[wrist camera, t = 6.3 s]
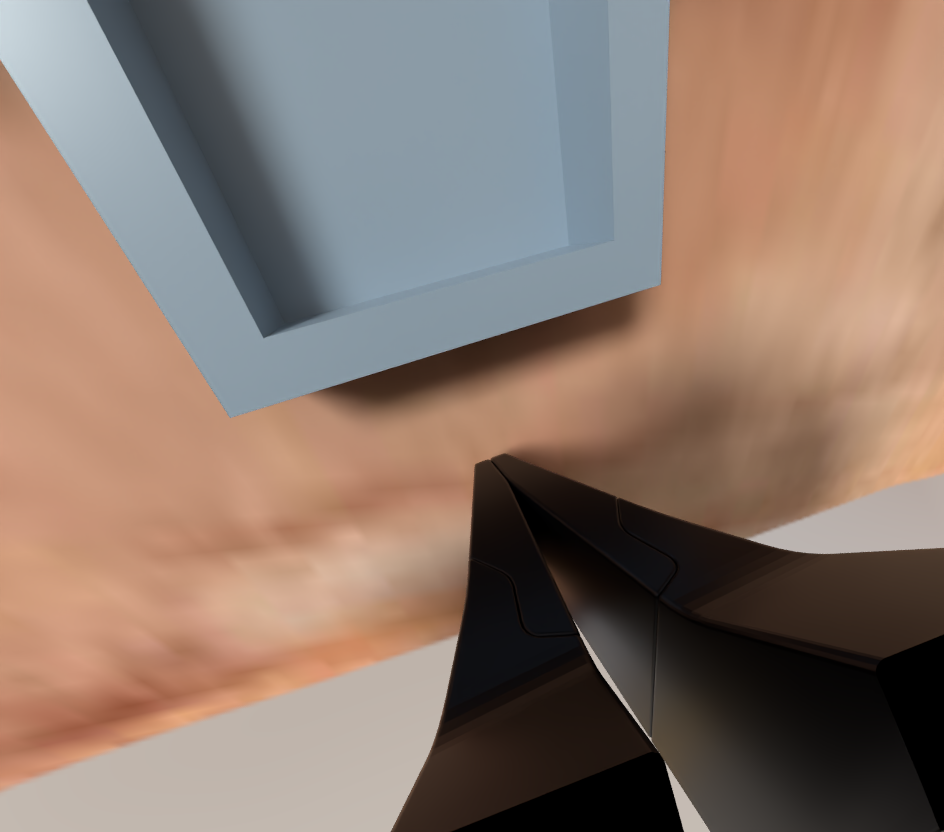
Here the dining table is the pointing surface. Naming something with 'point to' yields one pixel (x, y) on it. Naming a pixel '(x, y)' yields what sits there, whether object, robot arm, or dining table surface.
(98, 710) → the dining table surface
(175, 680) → the dining table surface
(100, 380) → the dining table surface
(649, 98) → the grey shell
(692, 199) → the dining table surface
